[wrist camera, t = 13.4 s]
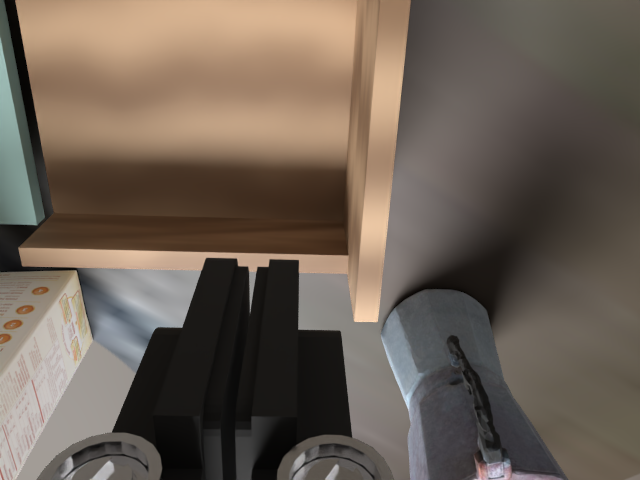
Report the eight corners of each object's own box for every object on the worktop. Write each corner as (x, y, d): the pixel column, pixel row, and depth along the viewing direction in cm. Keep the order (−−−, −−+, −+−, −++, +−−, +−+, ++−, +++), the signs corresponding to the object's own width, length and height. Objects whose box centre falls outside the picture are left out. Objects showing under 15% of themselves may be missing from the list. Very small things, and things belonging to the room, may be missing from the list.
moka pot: (396, 410, 50) (450, 662, 32) (349, 265, 43) (384, 477, 25) (503, 384, 49) (621, 627, 31) (471, 231, 42) (598, 426, 24)
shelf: (22, -151, 31) (-171, -234, 18) (380, -131, 32) (431, -198, 19) (81, 224, 41) (-18, 337, 28) (353, 231, 42) (375, 344, 29)
